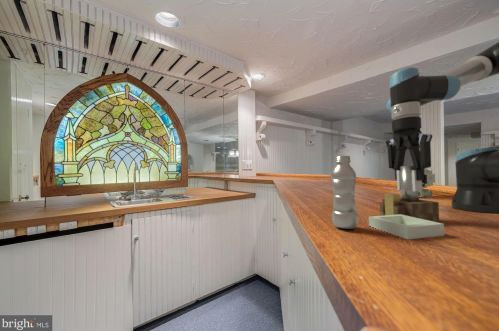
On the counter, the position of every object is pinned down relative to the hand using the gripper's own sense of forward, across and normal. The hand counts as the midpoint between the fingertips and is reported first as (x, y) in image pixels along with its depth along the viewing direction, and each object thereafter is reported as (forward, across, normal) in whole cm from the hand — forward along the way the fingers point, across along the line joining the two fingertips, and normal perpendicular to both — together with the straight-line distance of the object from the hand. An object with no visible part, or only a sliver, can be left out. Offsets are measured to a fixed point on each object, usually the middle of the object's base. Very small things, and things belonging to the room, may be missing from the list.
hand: (409, 190), depth 64 cm
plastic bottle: (+9, +3, -26) cm, 28 cm away
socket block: (+9, 0, -2) cm, 9 cm away
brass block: (+9, 0, -7) cm, 11 cm away
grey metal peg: (+7, 0, 0) cm, 7 cm away
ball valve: (+10, -37, +54) cm, 67 cm away
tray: (+9, +9, -14) cm, 19 cm away
